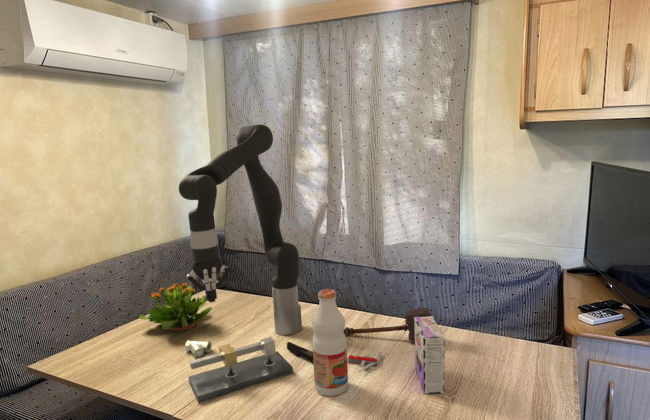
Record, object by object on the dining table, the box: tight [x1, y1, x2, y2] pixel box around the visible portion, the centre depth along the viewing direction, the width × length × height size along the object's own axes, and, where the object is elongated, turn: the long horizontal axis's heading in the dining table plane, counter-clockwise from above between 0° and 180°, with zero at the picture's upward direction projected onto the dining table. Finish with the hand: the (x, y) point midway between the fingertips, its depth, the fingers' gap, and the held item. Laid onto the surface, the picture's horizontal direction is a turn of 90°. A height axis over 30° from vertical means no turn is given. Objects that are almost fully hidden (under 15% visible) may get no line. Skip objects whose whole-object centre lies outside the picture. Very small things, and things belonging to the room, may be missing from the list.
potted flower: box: [139, 282, 213, 332], centre depth 168 cm, size 25×24×18 cm
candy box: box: [414, 315, 446, 395], centre depth 122 cm, size 14×6×16 cm, turn 178°
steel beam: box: [189, 336, 276, 370], centre depth 129 cm, size 24×6×7 cm, turn 119°
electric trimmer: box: [286, 341, 314, 366], centre depth 141 cm, size 4×16×3 cm, turn 43°
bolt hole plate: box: [188, 350, 294, 404], centre depth 129 cm, size 28×12×2 cm, turn 119°
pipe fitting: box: [184, 340, 213, 359], centre depth 146 cm, size 8×4×7 cm
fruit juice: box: [311, 288, 349, 397], centre depth 120 cm, size 9×9×28 cm
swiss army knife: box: [347, 351, 382, 373], centre depth 135 cm, size 12×14×2 cm
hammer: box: [344, 307, 432, 346], centre depth 150 cm, size 7×33×10 cm, turn 74°
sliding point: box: [218, 343, 238, 374], centre depth 129 cm, size 3×7×7 cm, turn 29°
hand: (211, 301), depth 128 cm, fingers closed
